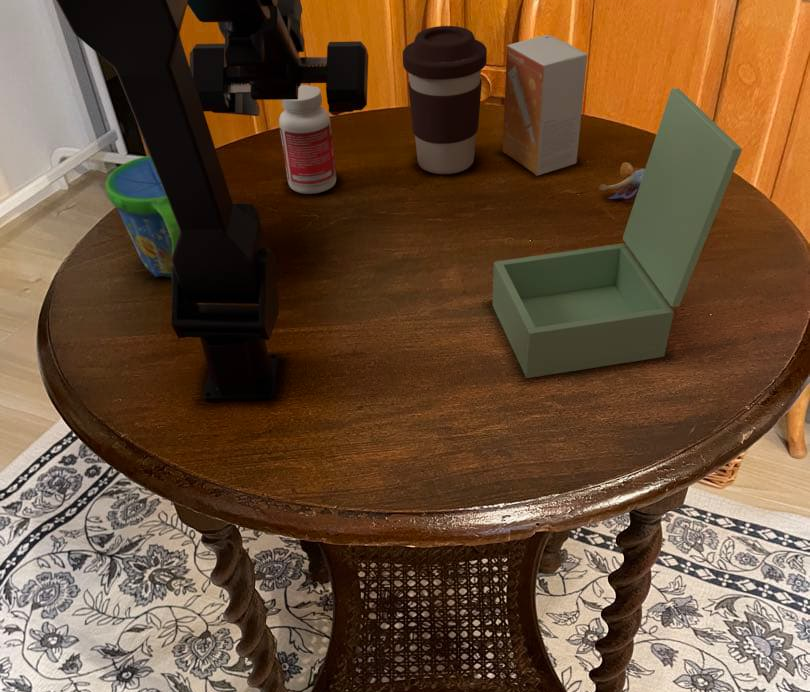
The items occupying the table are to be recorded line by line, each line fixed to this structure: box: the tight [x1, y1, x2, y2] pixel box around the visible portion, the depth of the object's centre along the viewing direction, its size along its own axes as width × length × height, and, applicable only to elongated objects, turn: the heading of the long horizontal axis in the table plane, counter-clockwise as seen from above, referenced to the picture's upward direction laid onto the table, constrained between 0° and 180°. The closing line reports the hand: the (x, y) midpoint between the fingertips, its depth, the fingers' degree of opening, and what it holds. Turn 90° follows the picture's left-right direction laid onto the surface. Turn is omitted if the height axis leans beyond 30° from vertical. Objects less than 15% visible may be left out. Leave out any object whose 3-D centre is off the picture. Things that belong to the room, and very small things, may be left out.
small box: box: [502, 34, 588, 176], centre depth 106 cm, size 8×6×13 cm
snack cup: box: [105, 155, 179, 279], centre depth 94 cm, size 16×10×10 cm
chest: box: [491, 242, 675, 379], centre depth 84 cm, size 14×13×5 cm
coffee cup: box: [402, 25, 488, 175], centre depth 106 cm, size 10×10×15 cm
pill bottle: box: [278, 84, 337, 195], centre depth 105 cm, size 6×6×11 cm
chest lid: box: [622, 87, 743, 308], centre depth 77 cm, size 14×13×1 cm
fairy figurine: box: [598, 161, 645, 200], centre depth 100 cm, size 12×5×12 cm
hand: (296, 111), depth 99 cm, fingers open, 9 cm apart
